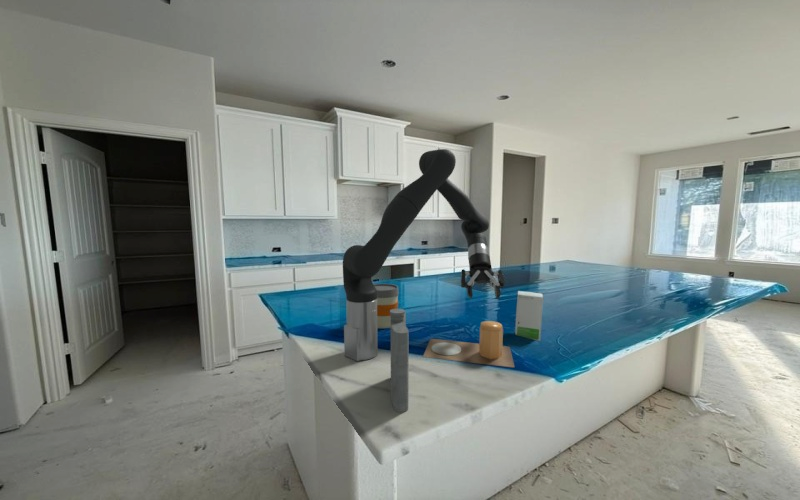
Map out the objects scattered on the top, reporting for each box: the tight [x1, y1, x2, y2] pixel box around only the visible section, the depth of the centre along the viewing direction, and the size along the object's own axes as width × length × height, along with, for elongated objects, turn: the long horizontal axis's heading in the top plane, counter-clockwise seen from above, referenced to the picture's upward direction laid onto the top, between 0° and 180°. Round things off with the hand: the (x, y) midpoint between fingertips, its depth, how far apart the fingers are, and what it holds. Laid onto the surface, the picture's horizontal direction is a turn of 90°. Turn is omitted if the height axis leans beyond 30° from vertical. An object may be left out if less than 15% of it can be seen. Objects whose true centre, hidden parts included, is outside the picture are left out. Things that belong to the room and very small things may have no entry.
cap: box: [478, 320, 504, 359], centre depth 89 cm, size 6×6×9 cm
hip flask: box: [390, 308, 410, 413], centre depth 72 cm, size 16×4×20 cm, turn 2°
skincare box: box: [514, 290, 544, 342], centre depth 106 cm, size 8×7×16 cm
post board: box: [422, 338, 515, 368], centre depth 91 cm, size 25×14×6 cm, turn 75°
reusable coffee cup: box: [373, 283, 400, 329], centre depth 119 cm, size 13×13×15 cm
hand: (484, 297), depth 100 cm, fingers open, 8 cm apart
